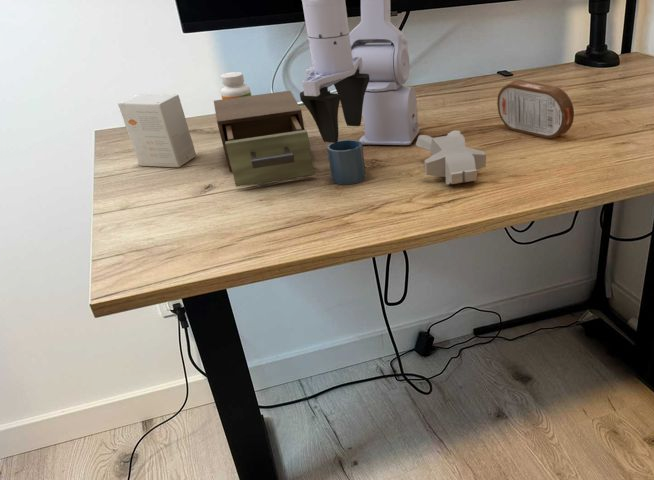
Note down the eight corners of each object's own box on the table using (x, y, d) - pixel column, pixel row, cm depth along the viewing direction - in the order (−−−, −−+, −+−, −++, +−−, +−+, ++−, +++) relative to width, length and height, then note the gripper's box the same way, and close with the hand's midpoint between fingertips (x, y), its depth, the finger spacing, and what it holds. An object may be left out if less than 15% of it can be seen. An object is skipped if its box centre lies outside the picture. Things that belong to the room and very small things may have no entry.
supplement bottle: (250, 131, 124) (238, 78, 118) (224, 131, 125) (211, 78, 119) (262, 123, 128) (251, 70, 122) (237, 122, 129) (225, 70, 123)
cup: (370, 172, 104) (366, 139, 101) (360, 185, 99) (355, 151, 96) (338, 171, 105) (333, 139, 102) (327, 184, 100) (321, 151, 97)
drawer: (319, 185, 98) (312, 141, 94) (238, 198, 95) (227, 154, 91) (303, 150, 111) (295, 110, 108) (231, 161, 109) (221, 120, 105)
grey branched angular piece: (432, 166, 93) (408, 124, 104) (433, 198, 96) (410, 154, 107) (495, 157, 95) (465, 117, 105) (494, 189, 98) (465, 147, 109)
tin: (573, 139, 112) (576, 87, 107) (562, 144, 110) (565, 92, 105) (505, 123, 121) (505, 75, 116) (494, 128, 119) (494, 79, 114)
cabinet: (310, 159, 110) (301, 109, 105) (229, 172, 107) (216, 121, 102) (298, 136, 120) (290, 90, 115) (225, 147, 117) (213, 100, 112)
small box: (197, 156, 114) (180, 94, 107) (179, 168, 109) (159, 103, 103) (157, 154, 115) (138, 93, 109) (138, 166, 111) (116, 102, 105)
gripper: (327, 24, 97) (340, 117, 104) (275, 45, 86) (294, 147, 94) (370, 24, 94) (381, 119, 102) (323, 46, 83) (338, 150, 91)
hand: (342, 133), depth 98 cm, fingers open, 7 cm apart
